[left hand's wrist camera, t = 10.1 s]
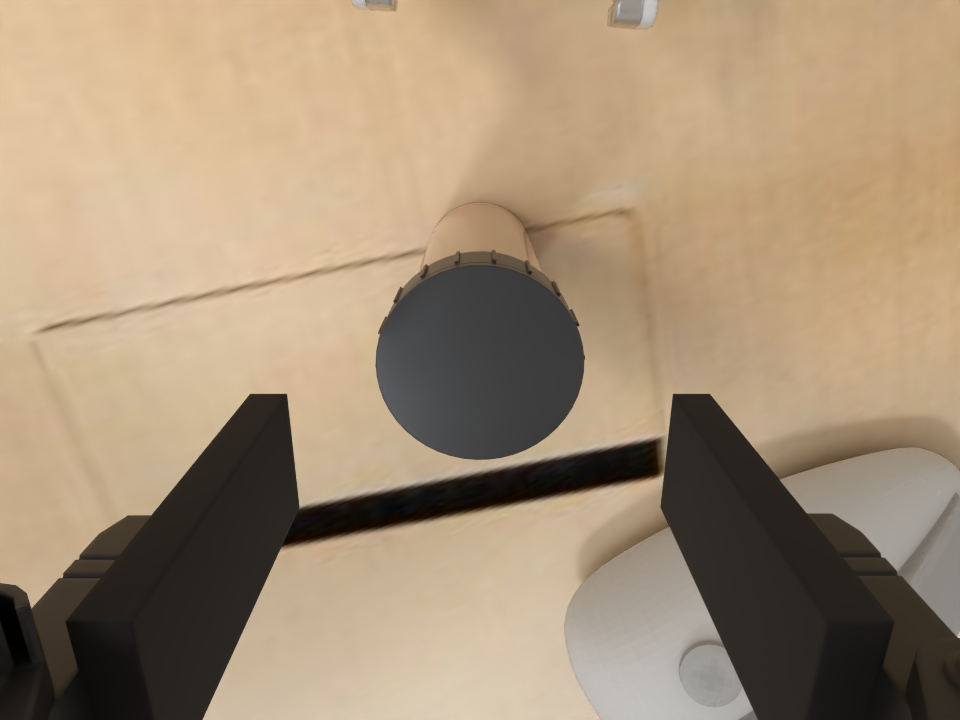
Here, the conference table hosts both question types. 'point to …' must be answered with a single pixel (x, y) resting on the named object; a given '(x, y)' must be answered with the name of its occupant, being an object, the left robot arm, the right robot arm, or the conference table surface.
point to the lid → (480, 356)
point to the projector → (687, 623)
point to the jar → (480, 234)
